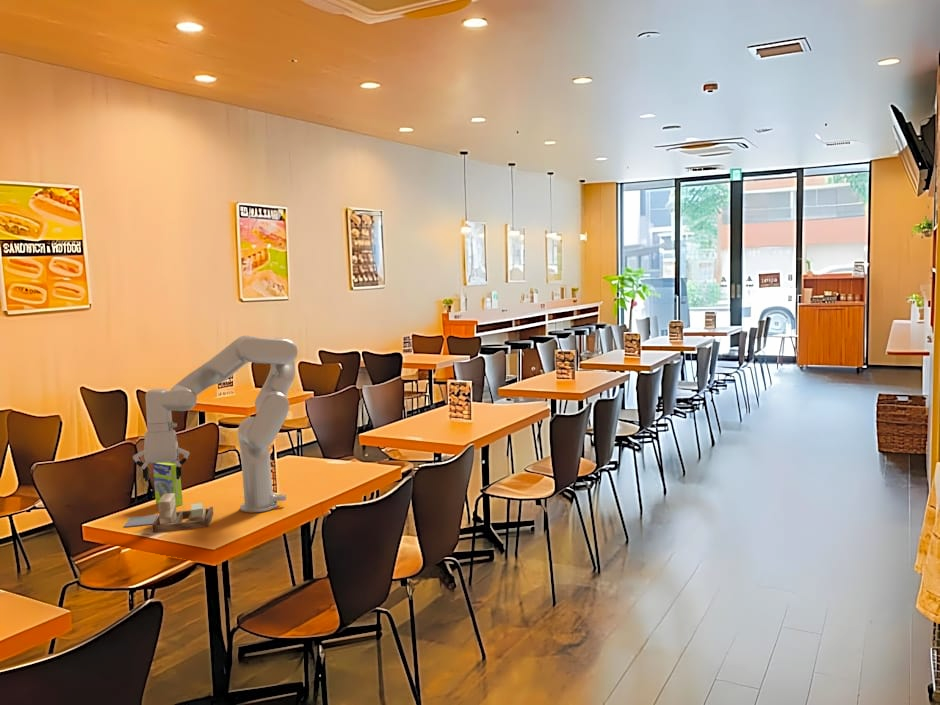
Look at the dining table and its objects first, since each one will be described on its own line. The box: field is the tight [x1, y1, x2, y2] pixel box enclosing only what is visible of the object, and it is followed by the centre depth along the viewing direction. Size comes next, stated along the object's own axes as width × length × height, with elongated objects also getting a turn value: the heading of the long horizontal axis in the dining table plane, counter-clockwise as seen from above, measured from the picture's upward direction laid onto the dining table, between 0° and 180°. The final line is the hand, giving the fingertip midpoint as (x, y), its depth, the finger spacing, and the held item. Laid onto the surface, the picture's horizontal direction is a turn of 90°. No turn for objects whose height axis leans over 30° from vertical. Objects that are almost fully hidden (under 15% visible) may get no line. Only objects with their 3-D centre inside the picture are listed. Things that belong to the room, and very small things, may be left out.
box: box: [152, 457, 184, 507], centre depth 282 cm, size 10×4×17 cm, turn 58°
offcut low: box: [188, 508, 207, 522], centre depth 261 cm, size 4×9×3 cm, turn 13°
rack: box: [151, 506, 214, 533], centre depth 260 cm, size 17×14×2 cm
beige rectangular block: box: [157, 493, 177, 524], centre depth 259 cm, size 4×10×9 cm, turn 12°
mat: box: [123, 514, 159, 528], centre depth 264 cm, size 9×10×1 cm
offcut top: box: [190, 502, 204, 518], centre depth 261 cm, size 4×7×2 cm, turn 21°
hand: (162, 479), depth 257 cm, fingers open, 9 cm apart
